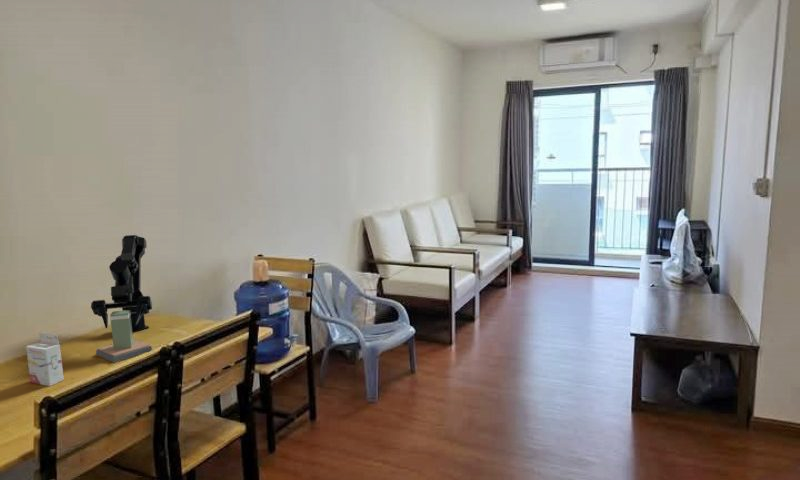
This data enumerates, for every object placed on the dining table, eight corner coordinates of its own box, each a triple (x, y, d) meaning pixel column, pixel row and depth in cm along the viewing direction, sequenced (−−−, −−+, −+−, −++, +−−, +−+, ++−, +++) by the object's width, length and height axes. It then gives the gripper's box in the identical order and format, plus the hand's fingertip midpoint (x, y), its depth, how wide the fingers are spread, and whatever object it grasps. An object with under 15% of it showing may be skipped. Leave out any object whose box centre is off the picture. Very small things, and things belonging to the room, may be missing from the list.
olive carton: (113, 349, 182) (110, 315, 180) (116, 345, 186) (112, 311, 184) (131, 347, 183) (128, 313, 182) (133, 343, 188) (130, 309, 186)
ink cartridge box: (29, 383, 160) (23, 336, 158) (44, 376, 165) (39, 331, 163) (49, 386, 158) (43, 339, 156) (64, 380, 162) (59, 334, 160)
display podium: (96, 354, 184) (95, 348, 183) (133, 344, 194) (132, 338, 194) (114, 362, 176) (113, 356, 176) (151, 351, 186) (151, 345, 186)
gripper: (89, 278, 182) (84, 317, 173) (148, 273, 188) (146, 311, 179) (96, 295, 191) (92, 333, 182) (152, 290, 196) (151, 327, 188)
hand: (121, 326), depth 182 cm, fingers open, 9 cm apart
